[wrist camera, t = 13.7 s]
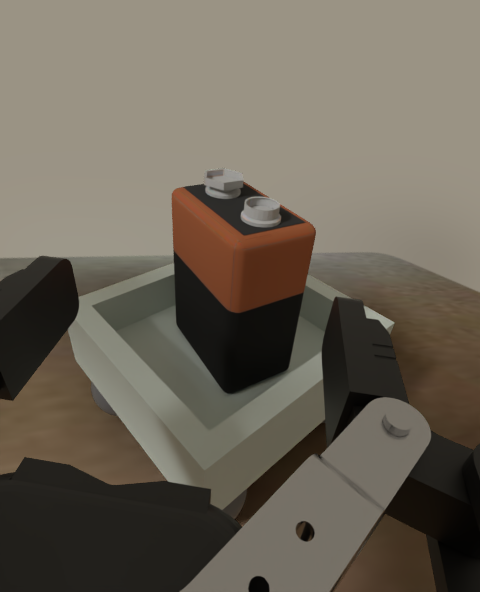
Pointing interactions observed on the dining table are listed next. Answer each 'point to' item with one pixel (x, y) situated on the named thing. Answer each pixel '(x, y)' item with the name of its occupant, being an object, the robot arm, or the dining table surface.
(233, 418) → the cart
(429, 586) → the dining table surface
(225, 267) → the battery
